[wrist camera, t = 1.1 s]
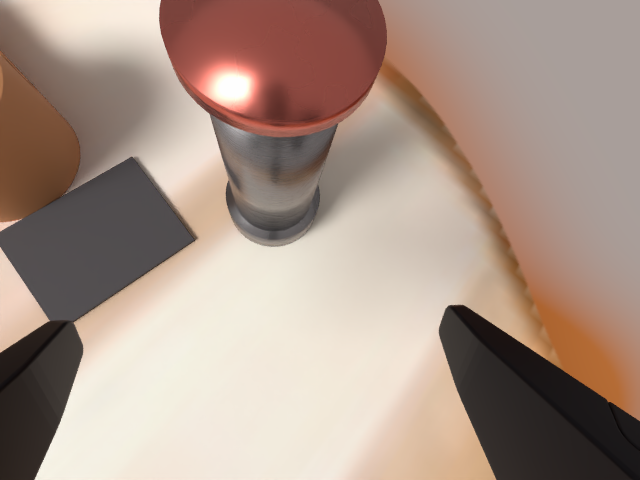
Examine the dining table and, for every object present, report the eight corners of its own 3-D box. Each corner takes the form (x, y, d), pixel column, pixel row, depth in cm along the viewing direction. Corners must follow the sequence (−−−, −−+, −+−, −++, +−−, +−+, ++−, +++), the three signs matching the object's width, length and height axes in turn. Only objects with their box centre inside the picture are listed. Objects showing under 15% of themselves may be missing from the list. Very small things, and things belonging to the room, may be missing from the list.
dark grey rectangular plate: (194, 240, 22) (194, 239, 22) (59, 331, 20) (57, 331, 20) (133, 158, 23) (132, 156, 23) (-5, 236, 21) (-7, 235, 20)
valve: (334, 214, 24) (429, 51, 10) (263, 266, 22) (252, 164, 8) (281, 149, 24) (298, -95, 10) (209, 195, 23) (111, -16, 9)
